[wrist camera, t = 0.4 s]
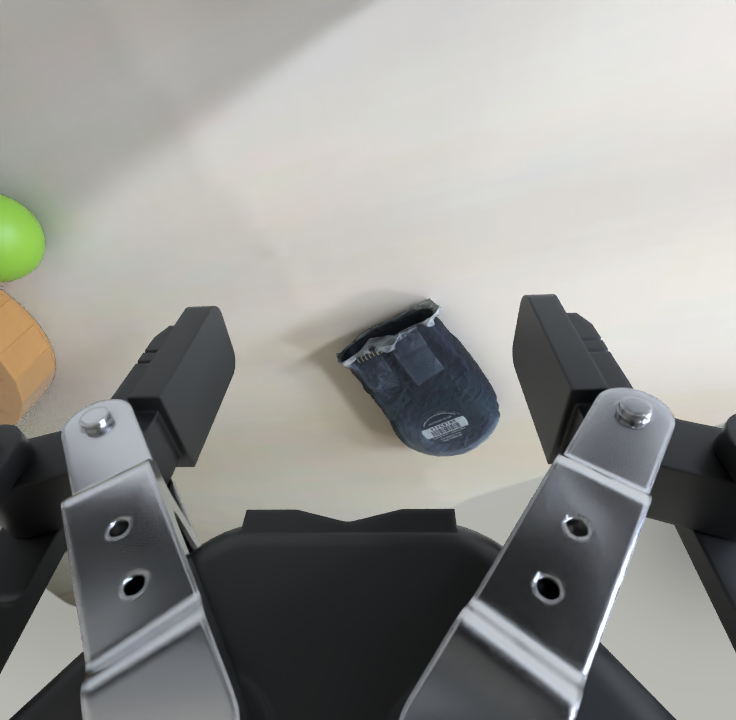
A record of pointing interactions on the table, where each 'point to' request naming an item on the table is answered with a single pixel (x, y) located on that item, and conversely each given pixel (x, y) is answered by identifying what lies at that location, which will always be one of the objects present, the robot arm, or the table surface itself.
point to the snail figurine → (18, 240)
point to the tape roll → (21, 361)
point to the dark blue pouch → (424, 382)
